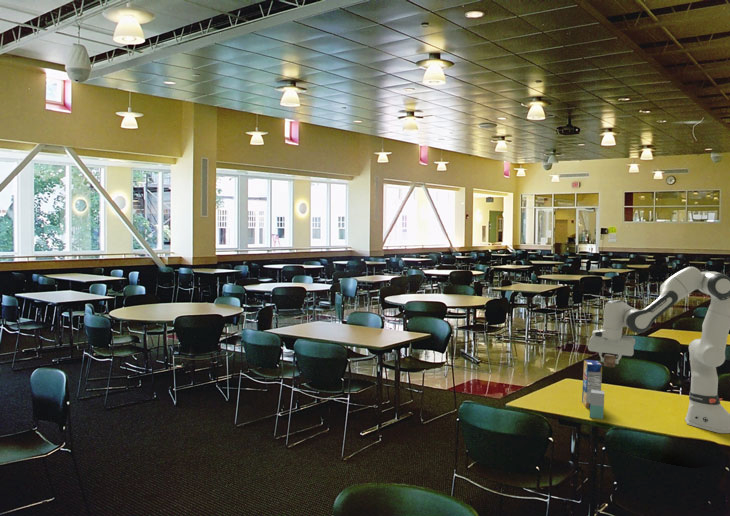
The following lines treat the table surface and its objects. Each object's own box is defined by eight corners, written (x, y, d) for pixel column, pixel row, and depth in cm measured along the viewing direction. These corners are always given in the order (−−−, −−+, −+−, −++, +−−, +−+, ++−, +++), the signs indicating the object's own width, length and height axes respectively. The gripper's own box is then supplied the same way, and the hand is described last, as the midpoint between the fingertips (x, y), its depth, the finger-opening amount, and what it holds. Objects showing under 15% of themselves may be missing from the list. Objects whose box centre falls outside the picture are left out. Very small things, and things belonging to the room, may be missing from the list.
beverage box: (585, 407, 312) (588, 364, 311) (581, 401, 323) (584, 359, 322) (600, 408, 311) (602, 365, 310) (595, 402, 322) (597, 360, 321)
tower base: (603, 415, 299) (603, 403, 299) (603, 419, 294) (603, 406, 293) (589, 413, 301) (590, 401, 301) (589, 417, 296) (590, 404, 296)
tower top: (603, 403, 299) (604, 391, 299) (603, 406, 293) (604, 394, 293) (590, 401, 301) (591, 389, 301) (590, 404, 296) (590, 392, 295)
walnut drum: (617, 367, 294) (618, 356, 293) (609, 367, 292) (610, 357, 291) (609, 364, 298) (610, 354, 298) (601, 365, 296) (602, 354, 296)
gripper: (635, 335, 293) (632, 364, 294) (589, 330, 301) (587, 358, 301) (636, 337, 287) (633, 367, 288) (589, 332, 295) (586, 361, 295)
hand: (609, 362), depth 295 cm, fingers closed on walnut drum, 5 cm apart
